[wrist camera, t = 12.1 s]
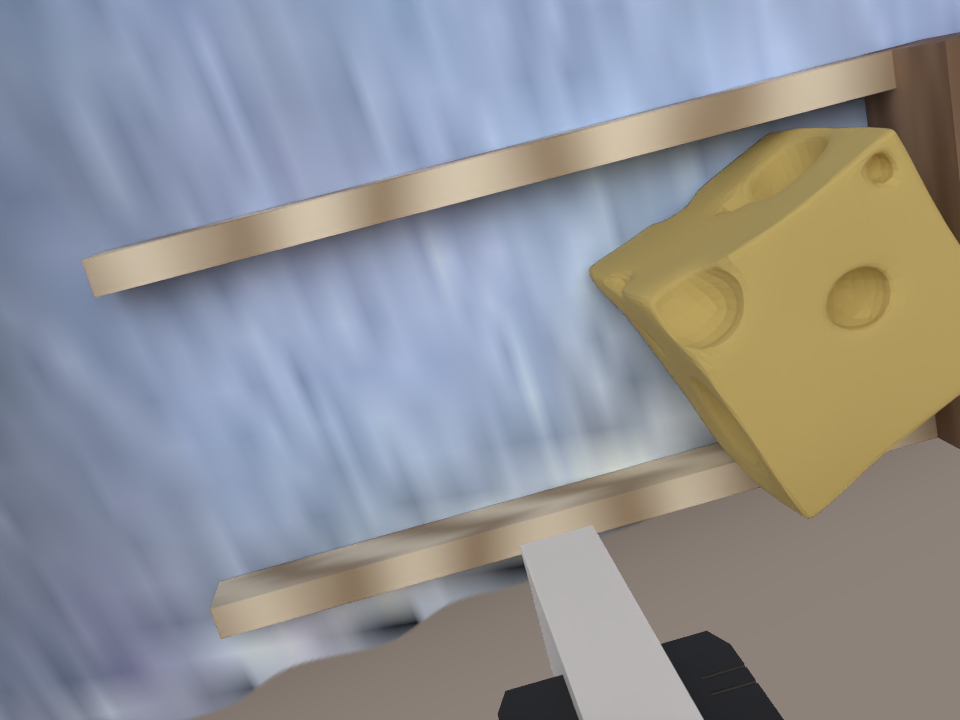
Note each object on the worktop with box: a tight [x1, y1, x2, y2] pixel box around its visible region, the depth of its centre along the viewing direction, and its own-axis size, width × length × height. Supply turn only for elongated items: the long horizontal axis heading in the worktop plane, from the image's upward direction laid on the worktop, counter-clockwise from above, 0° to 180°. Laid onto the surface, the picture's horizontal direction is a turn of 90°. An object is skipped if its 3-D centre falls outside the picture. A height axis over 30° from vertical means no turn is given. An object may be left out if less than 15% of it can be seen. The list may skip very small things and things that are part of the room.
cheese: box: [589, 127, 960, 519], centre depth 35 cm, size 10×11×10 cm
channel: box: [81, 32, 960, 639], centre depth 37 cm, size 36×17×6 cm, turn 104°
